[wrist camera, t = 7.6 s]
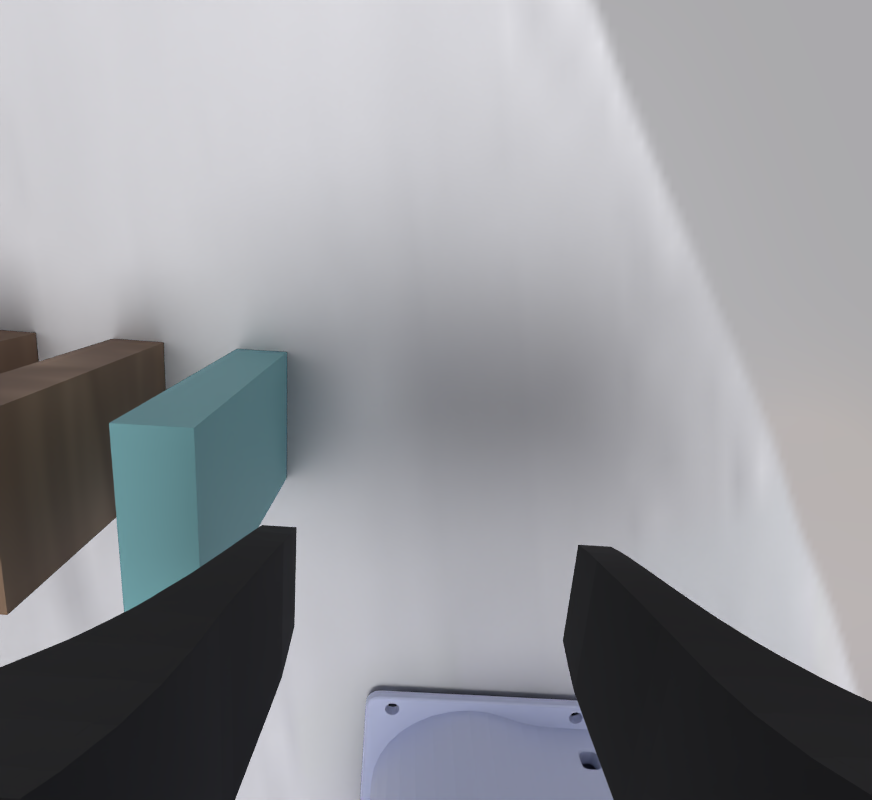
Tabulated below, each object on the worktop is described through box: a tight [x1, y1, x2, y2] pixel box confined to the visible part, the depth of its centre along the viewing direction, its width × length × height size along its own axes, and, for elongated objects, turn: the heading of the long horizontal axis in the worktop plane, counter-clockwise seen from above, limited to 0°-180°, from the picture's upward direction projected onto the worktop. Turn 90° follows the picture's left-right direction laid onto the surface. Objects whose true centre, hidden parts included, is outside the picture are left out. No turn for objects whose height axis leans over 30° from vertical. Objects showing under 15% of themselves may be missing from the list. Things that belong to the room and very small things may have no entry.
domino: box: [0, 339, 165, 615], centre depth 15 cm, size 2×4×8 cm, turn 175°
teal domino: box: [109, 349, 287, 612], centre depth 16 cm, size 2×4×8 cm, turn 176°
